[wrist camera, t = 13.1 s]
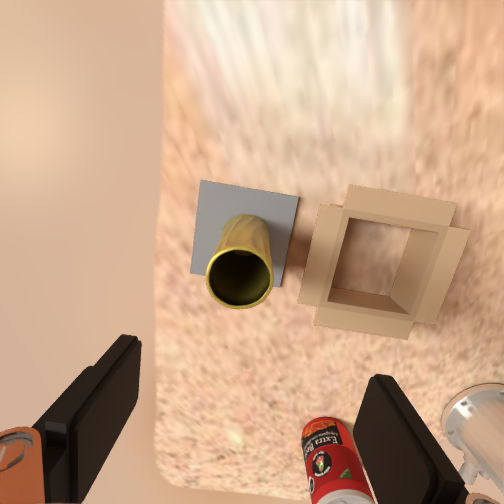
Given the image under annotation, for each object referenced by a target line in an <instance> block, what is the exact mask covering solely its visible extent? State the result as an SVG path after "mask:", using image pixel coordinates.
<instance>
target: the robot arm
mask: <svg viewBox="0 0 504 504" xmlns="http://www.w3.org/2000/svg"><path fill="white" fill-rule="evenodd" d="M141 346H142V344H141V341H139V340H138V338H137V336H131V335H125V334H122V335H121V336H120V337H119V338H118V339H117V340H116V341H115V342H114V343H113V345H112V346H111V347H110V348H109V349H108V350H107V351H106V352H105V354H104V355H103V356H102V357H101V358H100V359H99V360H98V361H97V363H96V364H95V365H94V366H88V367H87V368H86V369H84V370H83V371H82V373H81V374H80V375H79V376H78V377H77V378H76V379H75V381H73V382H72V383H71V385H70V386H69V387H68V388H67V389H66V390H65V391H64V392H63V393H62V395H61V396H60V397H59V398H58V399H57V400H56V401H55V402H54V403H53V404H52V405H51V406H50V408H49V409H48V410H47V411H46V412H45V413H44V414H43V415H42V416H41V417H40V418H39V420H38V421H37V422H36V423H35V424H34V425H33V426H32V427H15V428H12V429H8V430H5V431H3V432H0V504H81V503H82V502H83V501H84V499H85V497H86V495H87V493H88V492H89V490H90V488H91V486H92V484H93V483H94V481H95V479H96V477H97V475H98V473H99V471H100V470H101V468H102V466H103V464H104V462H105V460H106V459H107V457H108V455H109V453H110V451H111V449H112V448H113V446H114V444H115V442H116V440H117V438H118V436H119V435H120V433H121V431H122V429H123V427H124V425H125V424H126V422H127V420H128V418H129V416H130V414H131V412H132V411H133V409H134V407H135V405H136V402H137V399H138V391H139V376H140V361H141ZM441 427H442V431H443V433H444V435H445V437H446V438H447V439H448V441H449V442H450V443H451V444H452V445H453V446H454V447H456V448H457V449H459V450H461V451H463V452H464V453H465V454H464V460H465V463H464V464H463V465H462V466H461V468H460V471H459V472H458V471H457V470H456V469H455V467H454V466H453V464H452V463H451V461H450V460H449V458H448V457H447V456H446V454H445V452H444V451H443V450H442V448H441V447H440V445H439V444H438V442H437V441H436V439H435V438H434V436H433V435H432V434H431V432H430V431H429V429H428V428H427V426H426V425H425V423H424V422H423V420H422V419H421V417H420V416H419V415H418V413H417V412H416V410H415V409H414V407H413V406H412V404H411V403H410V401H409V400H408V398H407V397H406V396H405V394H404V393H403V391H402V390H401V388H400V387H399V385H398V384H397V382H396V381H395V380H394V378H393V377H392V376H389V375H382V374H375V375H374V377H371V378H370V380H369V383H368V386H367V389H366V392H365V395H364V398H363V401H362V404H361V407H360V410H359V413H358V416H357V419H356V422H355V425H354V428H353V436H354V440H355V443H356V445H357V448H358V451H359V453H360V456H361V459H362V461H363V464H364V467H365V470H366V472H367V475H368V478H369V480H370V483H371V486H372V488H373V491H374V494H375V496H376V499H377V502H378V504H500V503H499V502H497V501H496V500H494V499H492V498H490V497H488V496H486V495H483V494H480V493H471V494H469V492H468V491H467V489H466V488H465V486H464V485H465V483H466V484H468V485H473V483H474V481H475V479H476V478H477V474H478V472H479V474H480V475H481V476H482V477H483V478H485V479H490V478H491V479H492V480H493V482H494V483H495V484H496V486H497V487H498V488H499V489H500V491H501V492H502V493H503V494H504V385H501V384H482V385H478V386H474V387H471V388H469V389H467V390H465V391H463V392H461V393H460V394H458V395H457V396H456V397H455V398H453V399H452V400H451V401H450V403H449V404H448V405H447V407H446V408H445V410H444V412H443V415H442V419H441Z"/></svg>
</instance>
